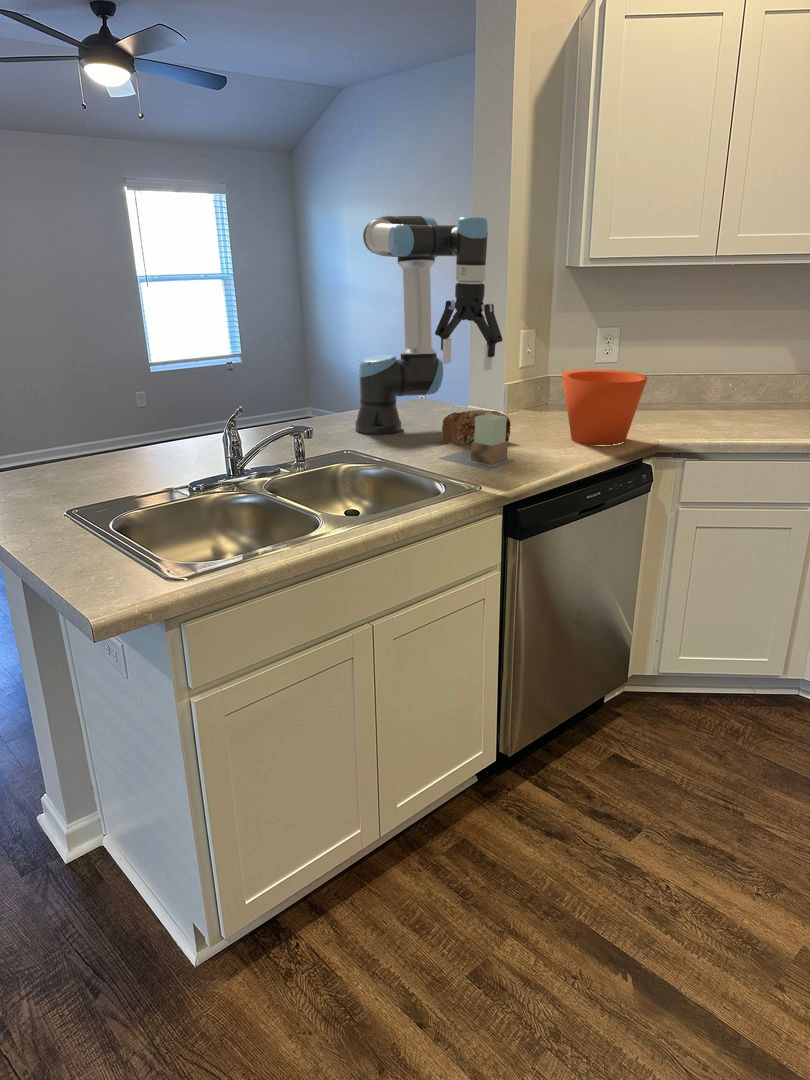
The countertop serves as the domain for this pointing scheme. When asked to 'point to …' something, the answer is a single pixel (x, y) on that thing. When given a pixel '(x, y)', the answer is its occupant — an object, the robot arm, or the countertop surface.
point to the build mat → (465, 459)
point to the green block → (490, 429)
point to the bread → (465, 426)
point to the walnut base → (489, 453)
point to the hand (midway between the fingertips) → (466, 366)
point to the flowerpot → (601, 404)
